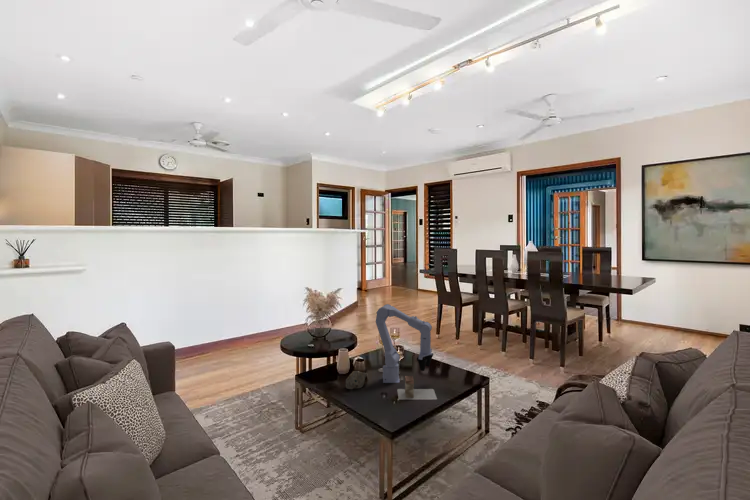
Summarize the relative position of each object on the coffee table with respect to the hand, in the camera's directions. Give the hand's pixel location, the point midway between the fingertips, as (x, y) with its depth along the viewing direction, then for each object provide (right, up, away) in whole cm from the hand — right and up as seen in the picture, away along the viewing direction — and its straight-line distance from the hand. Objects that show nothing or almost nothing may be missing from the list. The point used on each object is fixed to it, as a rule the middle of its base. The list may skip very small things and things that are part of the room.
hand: (425, 368), depth 203 cm
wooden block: (-10, -10, -11) cm, 18 cm away
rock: (-38, -10, 0) cm, 39 cm away
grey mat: (-6, -11, -10) cm, 16 cm away
